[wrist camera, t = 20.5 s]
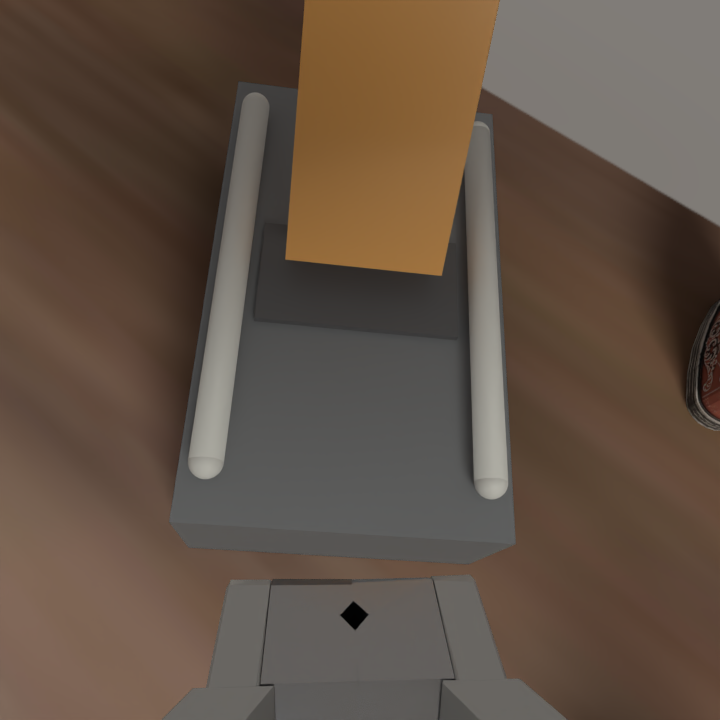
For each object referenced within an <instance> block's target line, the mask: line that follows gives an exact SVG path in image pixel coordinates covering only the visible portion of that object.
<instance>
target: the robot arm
mask: <svg viewBox="0 0 720 720" xmlns="http://www.w3.org/2000/svg"><path fill="white" fill-rule="evenodd" d="M162 720H567V719H566V718H565V717H564V716H563V715H562V714H560V713H559V712H558V711H557V710H556V709H555V708H553V707H552V706H551V705H550V704H549V703H548V702H546V701H545V700H544V699H543V698H542V697H541V696H539V695H538V694H537V693H536V692H535V691H534V690H532V689H531V688H530V687H529V686H528V685H527V684H525V683H524V682H523V681H522V680H521V679H507V677H506V674H505V671H504V668H503V665H502V662H501V659H500V656H499V653H498V650H497V647H496V644H495V640H494V637H493V634H492V631H491V628H490V625H489V622H488V619H487V616H486V613H485V610H484V607H483V603H482V600H481V597H480V594H479V591H478V588H477V585H476V582H475V579H474V578H473V577H472V576H471V575H452V576H431V578H393V579H356V580H352V579H273V580H272V581H271V580H231V581H230V583H229V585H228V586H227V588H226V592H225V597H224V602H223V607H222V612H221V617H220V622H219V627H218V632H217V637H216V641H215V646H214V651H213V656H212V661H211V666H210V671H209V676H208V681H207V686H206V688H193V689H192V690H191V691H190V692H189V693H188V694H187V695H186V696H185V697H184V698H183V699H182V700H181V701H180V702H179V703H178V704H177V705H176V706H175V707H174V708H173V709H172V710H171V711H170V712H169V713H168V714H167V715H166V716H165V717H164V718H163V719H162Z"/></svg>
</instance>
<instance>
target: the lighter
mask: <svg viewBox="0 0 720 720" xmlns="http://www.w3.org/2000/svg"><path fill="white" fill-rule="evenodd" d="M686 405H687V409H688V411H689V412H690V414H691V416H692V417H693V418H694V419H695V420H696V421H697V422H698V423H700V424H701V425H703V426H704V427H706V428H709V429H712V430H720V300H718V301H717V302H716V303H715V304H714V305H713V306H711V308H710V310H709V312H708V313H707V315H706V317H705V319H704V320H703V322H702V324H701V326H700V328H699V331H698V334H697V336H696V339H695V342H694V344H693V347H692V351H691V356H690V362H689V367H688V372H687V388H686Z"/></svg>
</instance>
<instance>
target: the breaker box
mask: <svg viewBox="0 0 720 720" xmlns="http://www.w3.org/2000/svg"><path fill="white" fill-rule="evenodd" d="M297 98H298V89H294V88H286V87H278V86H271V85H263V84H255V83H248V82H240V81H239V82H238V89H237V95H236V101H235V108H234V114H233V120H232V127H231V133H230V139H229V146H228V152H227V158H226V165H225V171H224V177H223V184H222V190H221V196H220V203H219V209H218V215H217V222H216V228H215V234H214V241H213V247H212V253H211V260H210V266H209V273H208V279H207V285H206V292H205V298H204V304H203V311H202V317H201V323H200V330H199V336H198V342H197V349H196V355H195V361H194V368H193V374H192V380H191V387H190V393H189V399H188V406H187V412H186V418H185V425H184V431H183V437H182V444H181V450H180V456H179V463H178V469H177V475H176V482H175V488H174V494H173V501H172V507H171V513H170V520H169V523H170V524H171V525H172V526H173V528H174V529H175V530H176V532H177V533H178V534H179V536H180V537H181V538H182V540H183V541H184V542H185V543H186V545H187V546H188V547H189V548H205V549H222V550H238V551H255V552H272V553H289V554H305V555H322V556H339V557H356V558H372V559H389V560H406V561H422V562H439V563H456V564H470V563H473V562H475V561H477V560H480V559H482V558H484V557H487V556H489V555H491V554H494V553H496V552H498V551H501V550H503V549H505V548H508V547H510V546H512V545H515V544H516V542H515V524H514V505H513V487H512V469H511V450H510V432H509V413H508V395H507V377H506V358H505V340H504V322H503V303H502V285H501V267H500V248H499V230H498V212H497V193H496V175H495V157H494V138H493V120H492V114H485V113H477V112H476V115H475V120H474V125H473V130H472V134H471V139H470V144H469V148H468V153H467V158H466V163H465V167H464V172H463V177H462V182H461V186H460V191H459V196H458V201H457V205H456V210H455V215H454V219H453V224H452V229H451V234H450V238H449V243H448V248H447V253H446V257H445V262H444V267H443V272H442V276H438V275H428V274H419V273H409V272H400V271H390V270H380V269H371V268H361V267H352V266H342V265H333V264H323V263H313V262H304V261H294V260H285V257H286V244H287V231H288V217H289V204H290V191H291V178H292V164H293V151H294V138H295V125H296V111H297Z"/></svg>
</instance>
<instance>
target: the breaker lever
mask: <svg viewBox="0 0 720 720" xmlns="http://www.w3.org/2000/svg"><path fill="white" fill-rule="evenodd" d="M499 2H500V0H305V5H304V19H303V32H302V45H301V58H300V72H299V85H298V98H297V111H296V125H295V138H294V151H293V164H292V178H291V191H290V204H289V217H288V231H287V244H286V257H285V260H294V261H304V262H313V263H323V264H333V265H342V266H352V267H361V268H371V269H380V270H390V271H400V272H409V273H419V274H428V275H438V276H442V272H443V267H444V262H445V257H446V253H447V248H448V243H449V238H450V234H451V229H452V224H453V219H454V215H455V210H456V205H457V201H458V196H459V191H460V186H461V182H462V177H463V172H464V167H465V163H466V158H467V153H468V148H469V144H470V139H471V134H472V130H473V125H474V120H475V115H476V111H477V106H478V101H479V96H480V92H481V87H482V82H483V77H484V72H485V68H486V63H487V58H488V53H489V49H490V44H491V39H492V35H493V30H494V25H495V21H496V16H497V11H498V6H499Z"/></svg>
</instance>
